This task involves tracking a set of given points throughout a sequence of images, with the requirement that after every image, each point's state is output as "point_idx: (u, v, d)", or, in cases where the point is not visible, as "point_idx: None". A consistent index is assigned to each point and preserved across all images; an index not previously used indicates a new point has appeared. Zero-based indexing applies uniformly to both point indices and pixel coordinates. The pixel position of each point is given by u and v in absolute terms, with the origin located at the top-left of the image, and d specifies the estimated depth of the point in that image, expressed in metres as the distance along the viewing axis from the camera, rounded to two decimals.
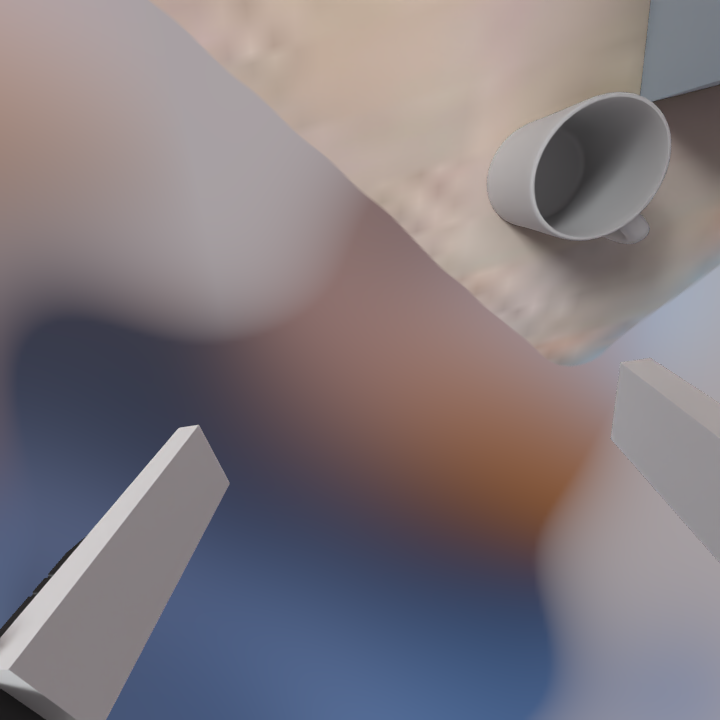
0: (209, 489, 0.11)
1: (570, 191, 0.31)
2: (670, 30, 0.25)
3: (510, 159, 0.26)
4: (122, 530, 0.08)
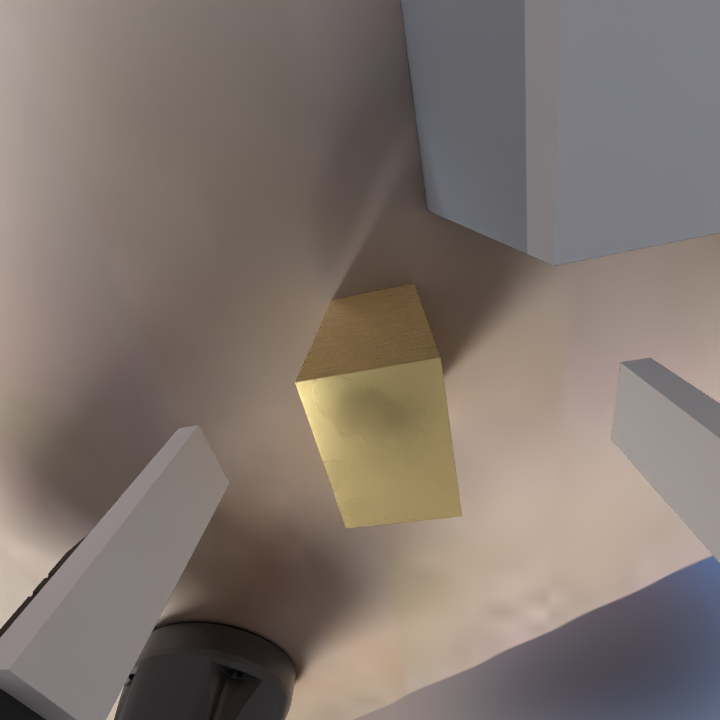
0: (209, 489, 0.11)
1: None
2: None
3: None
4: (122, 530, 0.08)
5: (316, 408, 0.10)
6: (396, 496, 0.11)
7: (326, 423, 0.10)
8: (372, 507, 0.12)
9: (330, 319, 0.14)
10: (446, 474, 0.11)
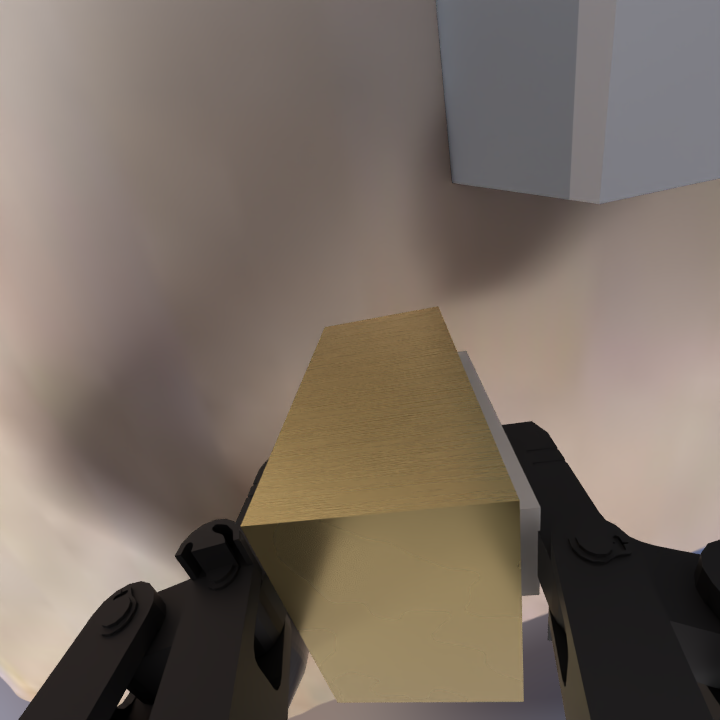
0: None
1: None
2: None
3: None
4: None
5: (282, 562, 0.06)
6: (418, 674, 0.07)
7: (300, 583, 0.06)
8: (380, 683, 0.07)
9: (319, 365, 0.10)
10: (506, 655, 0.06)
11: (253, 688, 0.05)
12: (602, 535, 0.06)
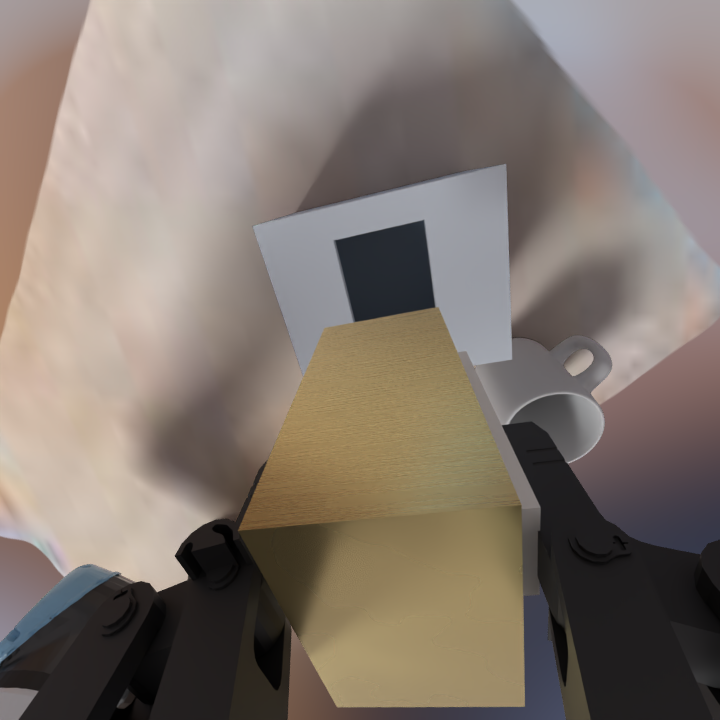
0: None
1: None
2: None
3: None
4: None
5: (280, 567, 0.05)
6: (418, 679, 0.07)
7: (299, 587, 0.06)
8: (379, 688, 0.07)
9: (318, 366, 0.09)
10: (507, 661, 0.06)
11: (253, 688, 0.05)
12: (602, 535, 0.06)
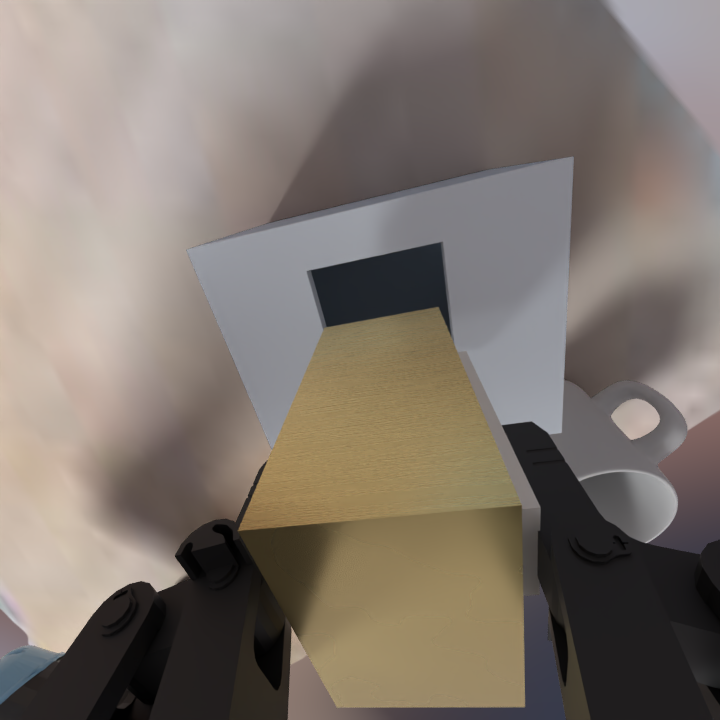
0: None
1: None
2: None
3: None
4: None
5: (280, 567, 0.05)
6: (419, 680, 0.07)
7: (299, 588, 0.06)
8: (380, 689, 0.07)
9: (318, 366, 0.09)
10: (507, 661, 0.06)
11: (253, 688, 0.05)
12: (602, 535, 0.06)
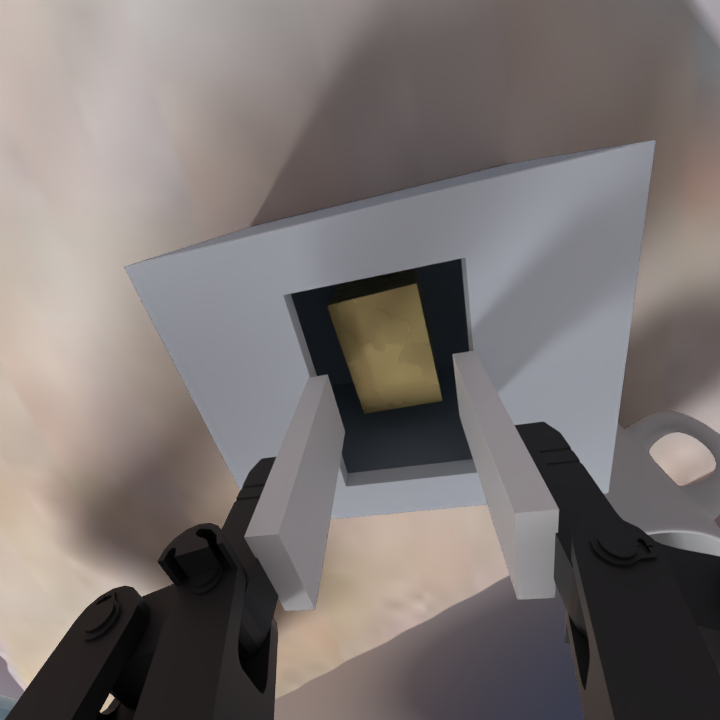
0: (337, 432, 0.13)
1: None
2: None
3: None
4: (307, 448, 0.09)
5: (340, 323, 0.16)
6: (396, 386, 0.17)
7: (347, 333, 0.16)
8: (381, 396, 0.17)
9: None
10: (428, 368, 0.16)
11: (237, 691, 0.05)
12: (626, 538, 0.05)
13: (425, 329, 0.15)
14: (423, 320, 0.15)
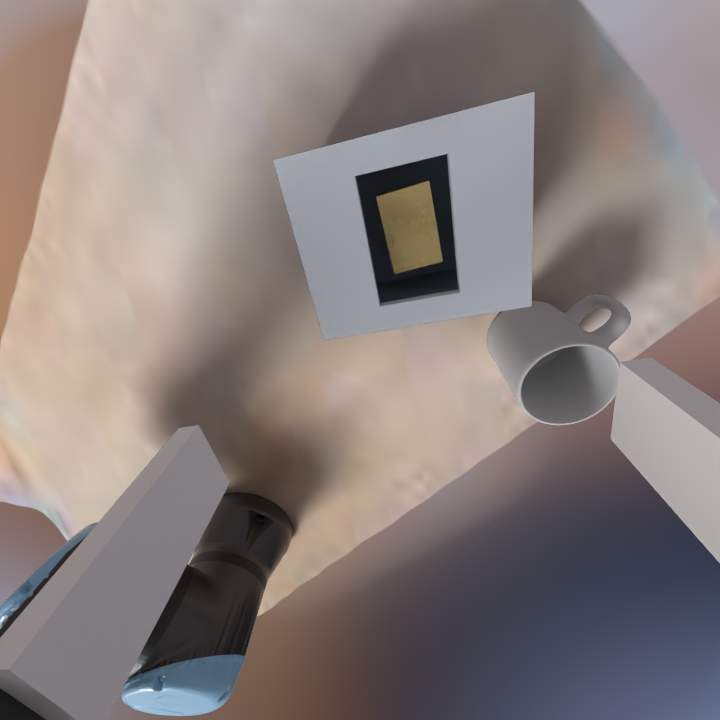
0: (209, 489, 0.11)
1: None
2: None
3: None
4: (122, 530, 0.08)
5: (383, 208, 0.26)
6: (415, 252, 0.27)
7: (387, 215, 0.26)
8: (405, 260, 0.28)
9: (381, 193, 0.30)
10: (435, 238, 0.27)
11: None
12: None
13: (433, 211, 0.26)
14: (432, 205, 0.26)
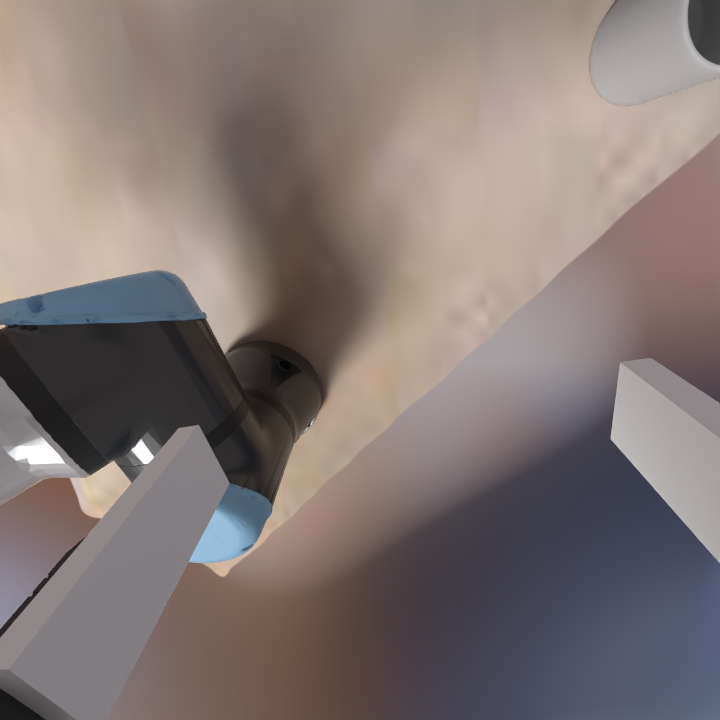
0: (209, 489, 0.11)
1: None
2: None
3: (656, 89, 0.27)
4: (122, 530, 0.08)
5: None
6: None
7: None
8: None
9: None
10: None
11: None
12: None
13: None
14: None
